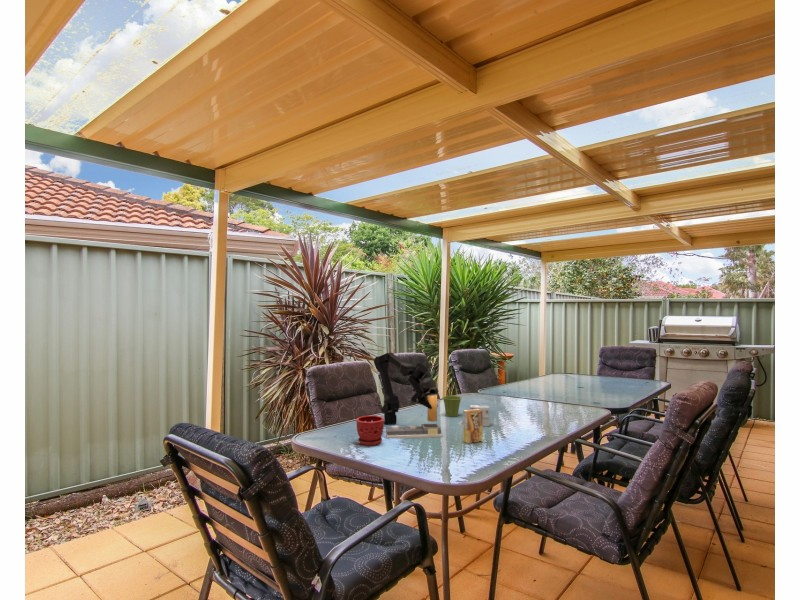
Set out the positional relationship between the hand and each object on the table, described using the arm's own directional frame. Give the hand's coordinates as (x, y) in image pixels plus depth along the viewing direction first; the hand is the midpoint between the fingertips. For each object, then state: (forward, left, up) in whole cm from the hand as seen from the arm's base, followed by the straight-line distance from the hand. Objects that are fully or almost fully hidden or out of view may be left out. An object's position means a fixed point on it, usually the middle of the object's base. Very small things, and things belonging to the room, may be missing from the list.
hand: (434, 407), depth 235 cm
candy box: (+16, -16, -14) cm, 26 cm away
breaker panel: (-11, 0, -14) cm, 18 cm away
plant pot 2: (+19, +43, -14) cm, 49 cm away
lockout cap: (-1, +1, -7) cm, 7 cm away
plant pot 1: (-34, -13, -14) cm, 39 cm away
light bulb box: (+29, +17, -14) cm, 36 cm away
